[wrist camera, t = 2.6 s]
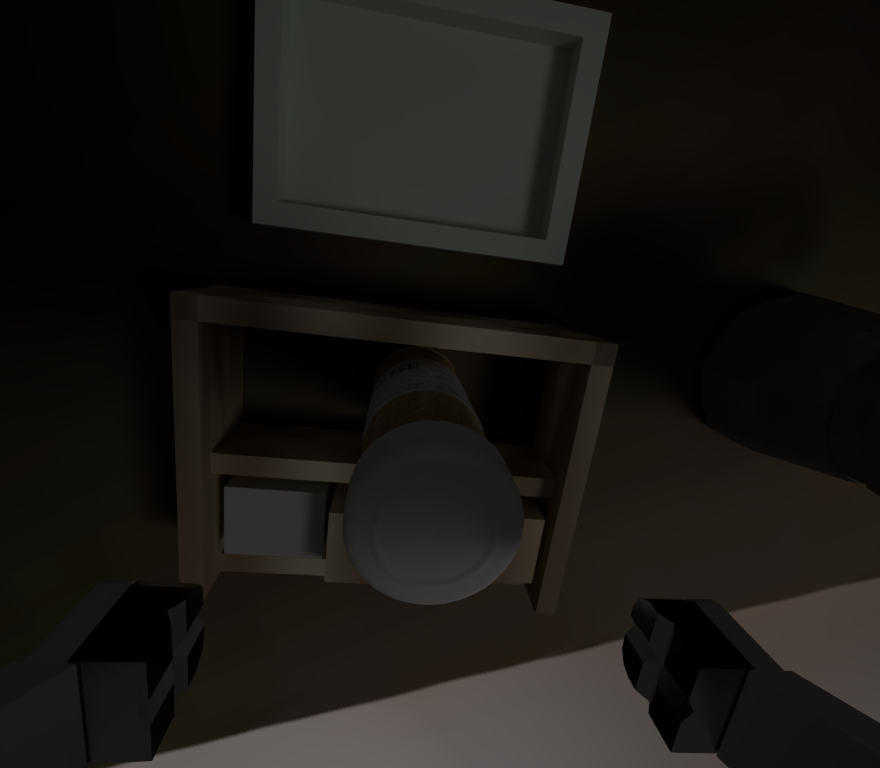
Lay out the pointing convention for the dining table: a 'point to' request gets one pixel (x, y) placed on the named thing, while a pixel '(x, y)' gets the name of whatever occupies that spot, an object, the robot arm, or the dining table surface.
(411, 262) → the dining table surface
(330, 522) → the offcut pine
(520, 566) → the offcut oak
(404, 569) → the sprinkles bottle
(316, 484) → the offcut grey
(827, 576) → the dining table surface
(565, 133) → the tray
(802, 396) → the coffeepot
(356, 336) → the rack
